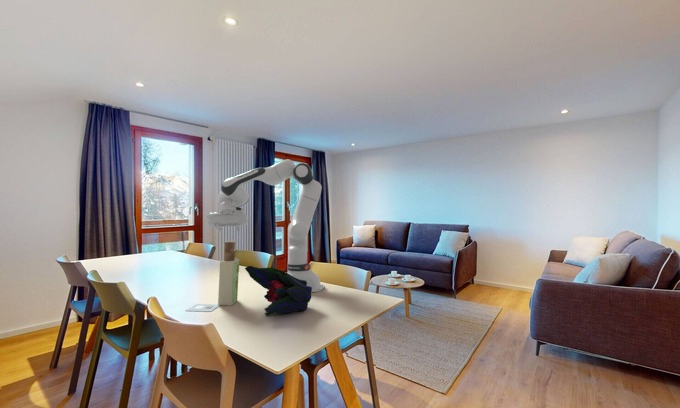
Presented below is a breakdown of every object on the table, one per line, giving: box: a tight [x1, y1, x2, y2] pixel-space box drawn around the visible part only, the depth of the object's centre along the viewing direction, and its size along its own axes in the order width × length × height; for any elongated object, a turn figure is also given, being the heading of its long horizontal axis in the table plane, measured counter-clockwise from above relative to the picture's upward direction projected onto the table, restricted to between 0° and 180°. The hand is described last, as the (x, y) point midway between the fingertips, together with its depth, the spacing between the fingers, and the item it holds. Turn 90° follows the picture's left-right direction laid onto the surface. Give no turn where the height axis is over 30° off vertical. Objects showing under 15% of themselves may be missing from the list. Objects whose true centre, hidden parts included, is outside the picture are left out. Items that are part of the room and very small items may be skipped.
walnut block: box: [223, 240, 236, 261], centre depth 145 cm, size 4×4×9 cm
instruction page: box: [185, 303, 221, 313], centre depth 138 cm, size 12×9×1 cm
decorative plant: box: [244, 265, 313, 316], centre depth 134 cm, size 21×26×30 cm
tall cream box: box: [217, 258, 240, 306], centre depth 145 cm, size 8×7×21 cm
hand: (229, 230), depth 159 cm, fingers open, 8 cm apart
